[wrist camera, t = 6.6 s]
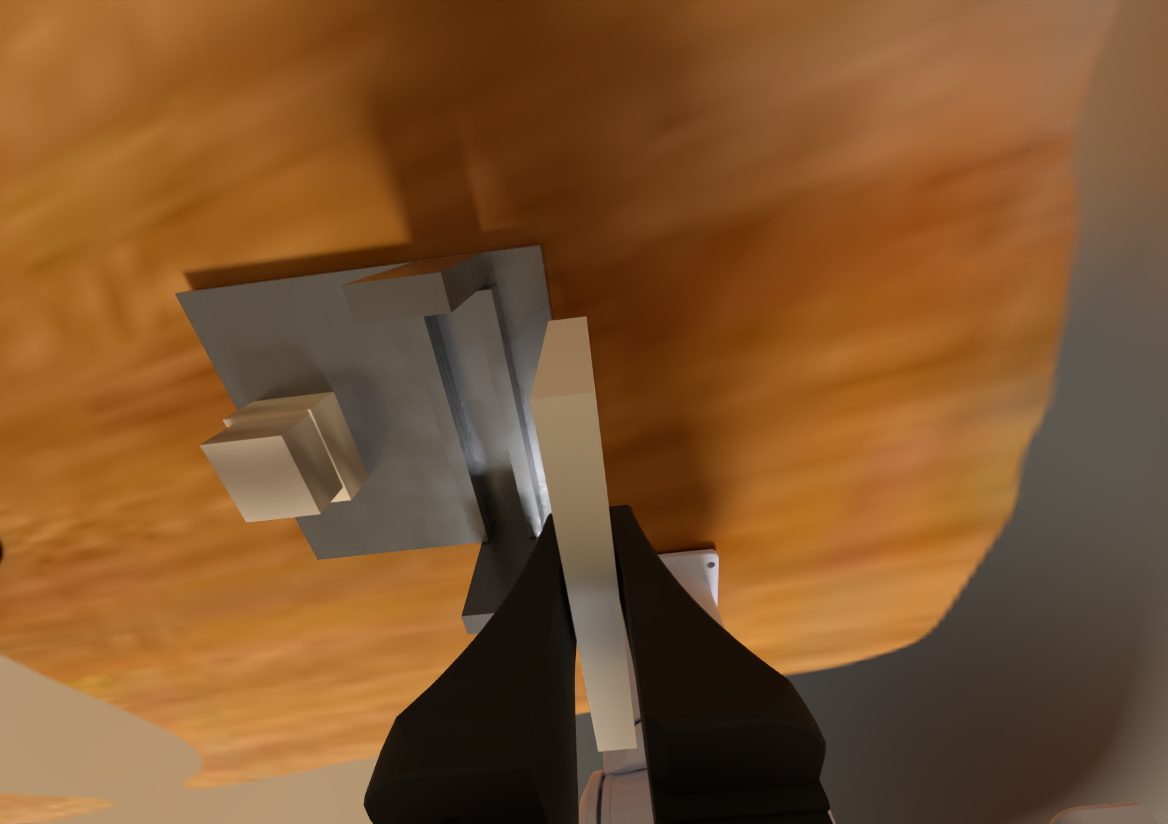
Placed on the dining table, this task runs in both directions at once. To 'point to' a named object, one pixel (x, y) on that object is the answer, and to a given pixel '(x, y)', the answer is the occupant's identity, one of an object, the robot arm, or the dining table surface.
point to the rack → (408, 397)
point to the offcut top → (274, 467)
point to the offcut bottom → (328, 427)
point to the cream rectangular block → (583, 523)
